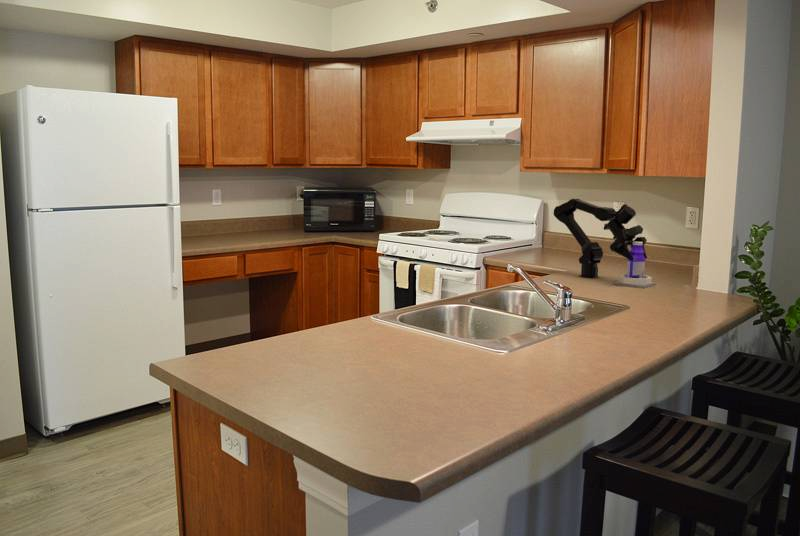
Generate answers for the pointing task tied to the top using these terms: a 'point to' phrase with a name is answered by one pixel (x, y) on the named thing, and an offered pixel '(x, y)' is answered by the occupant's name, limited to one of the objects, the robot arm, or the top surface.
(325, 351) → the top surface
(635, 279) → the dock
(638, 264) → the bottle
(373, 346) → the top surface
